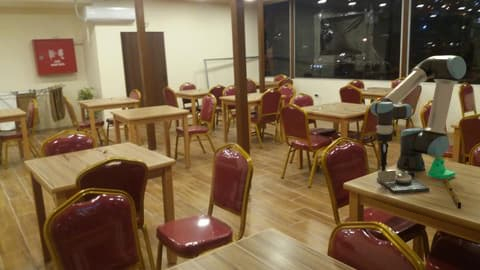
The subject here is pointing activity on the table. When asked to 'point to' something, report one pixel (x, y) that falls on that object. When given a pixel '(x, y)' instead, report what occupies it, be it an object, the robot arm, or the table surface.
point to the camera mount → (439, 169)
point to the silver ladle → (393, 177)
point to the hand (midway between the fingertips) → (382, 177)
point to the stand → (405, 186)
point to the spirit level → (452, 193)
